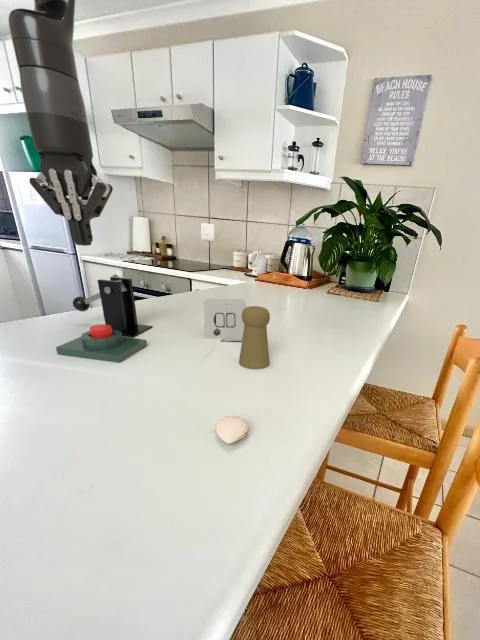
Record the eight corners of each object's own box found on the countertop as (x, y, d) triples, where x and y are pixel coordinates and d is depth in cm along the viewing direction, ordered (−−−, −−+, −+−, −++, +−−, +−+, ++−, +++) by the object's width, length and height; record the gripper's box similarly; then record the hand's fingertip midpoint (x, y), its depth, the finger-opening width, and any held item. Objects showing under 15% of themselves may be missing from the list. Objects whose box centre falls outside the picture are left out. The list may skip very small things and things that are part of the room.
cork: (248, 371, 60) (249, 312, 55) (233, 359, 64) (233, 304, 59) (275, 365, 63) (279, 309, 58) (259, 355, 67) (261, 302, 62)
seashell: (249, 428, 43) (249, 412, 42) (246, 452, 39) (246, 435, 38) (217, 427, 43) (216, 411, 42) (210, 451, 39) (209, 433, 37)
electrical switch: (204, 342, 72) (203, 299, 68) (205, 336, 76) (203, 296, 73) (246, 342, 74) (247, 301, 70) (244, 337, 79) (245, 298, 75)
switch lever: (75, 314, 71) (66, 301, 69) (85, 311, 73) (76, 298, 72) (121, 294, 67) (112, 279, 66) (129, 291, 70) (121, 277, 69)
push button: (86, 337, 59) (84, 328, 58) (99, 332, 62) (97, 323, 61) (105, 340, 58) (103, 330, 57) (117, 334, 61) (115, 325, 61)
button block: (58, 358, 58) (53, 337, 56) (92, 342, 66) (88, 323, 64) (120, 367, 57) (117, 345, 55) (147, 350, 65) (145, 330, 63)
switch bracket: (90, 335, 70) (79, 279, 64) (113, 325, 77) (105, 274, 71) (134, 341, 69) (126, 284, 63) (153, 330, 76) (147, 278, 70)
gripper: (115, 126, 50) (132, 247, 58) (37, 122, 51) (63, 241, 59) (82, 111, 43) (106, 249, 51) (-7, 106, 44) (29, 243, 52)
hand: (83, 244), depth 55 cm, fingers closed
